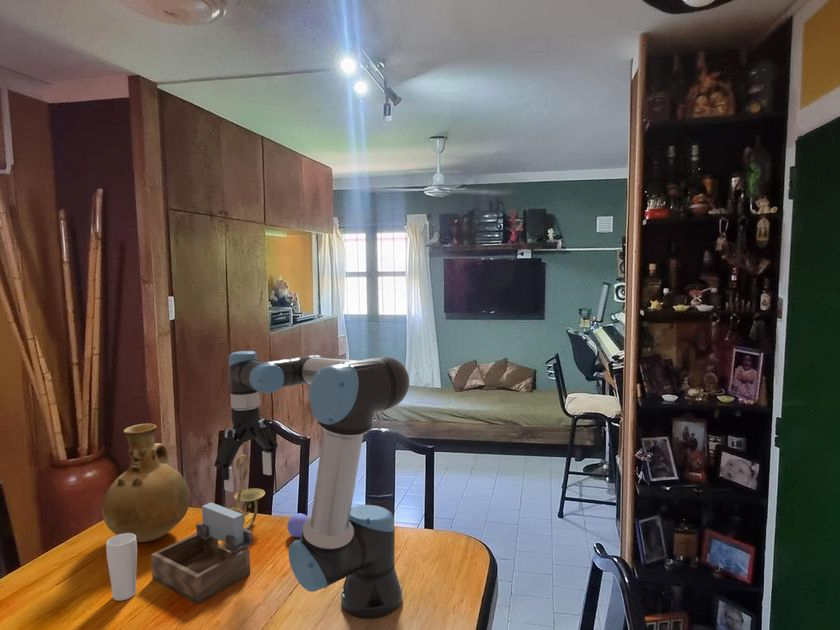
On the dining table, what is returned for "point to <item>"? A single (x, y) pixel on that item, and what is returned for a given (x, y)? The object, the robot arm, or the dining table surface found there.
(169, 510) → the vase
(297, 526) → the sphere
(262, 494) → the wall sconce
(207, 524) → the door
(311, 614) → the dining table surface
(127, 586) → the drinking glass
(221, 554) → the box
